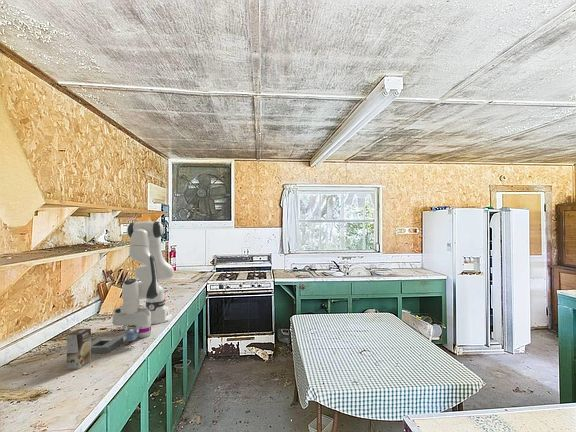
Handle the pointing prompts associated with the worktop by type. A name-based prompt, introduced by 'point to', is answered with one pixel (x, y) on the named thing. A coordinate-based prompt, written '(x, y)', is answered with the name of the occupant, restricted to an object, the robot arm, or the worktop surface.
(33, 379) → the worktop surface
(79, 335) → the coffee box
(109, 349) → the plate
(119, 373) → the worktop surface
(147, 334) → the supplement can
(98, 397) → the worktop surface
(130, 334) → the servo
